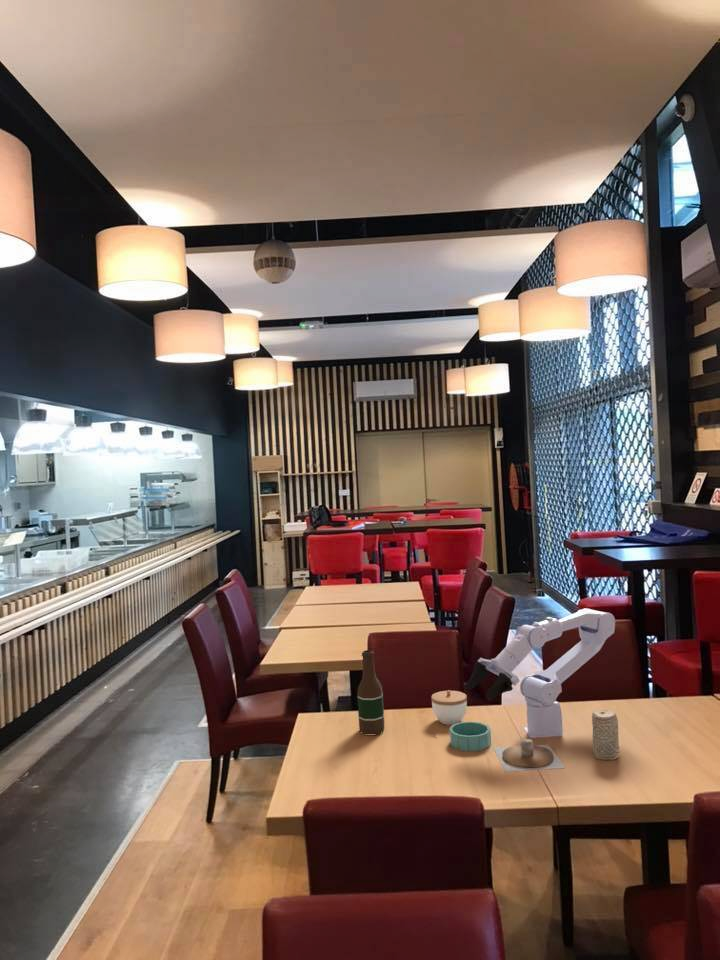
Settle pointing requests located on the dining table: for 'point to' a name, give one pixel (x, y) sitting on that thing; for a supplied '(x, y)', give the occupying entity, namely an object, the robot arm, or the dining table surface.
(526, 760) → the lid
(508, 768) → the mat
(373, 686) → the beer bottle
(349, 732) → the dining table surface
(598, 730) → the carving
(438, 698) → the lidded jar
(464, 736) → the bowl
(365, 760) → the dining table surface
